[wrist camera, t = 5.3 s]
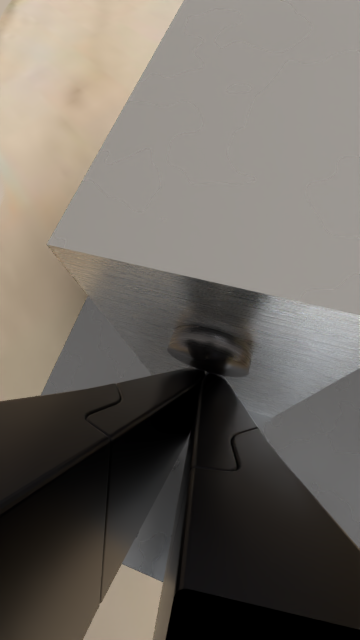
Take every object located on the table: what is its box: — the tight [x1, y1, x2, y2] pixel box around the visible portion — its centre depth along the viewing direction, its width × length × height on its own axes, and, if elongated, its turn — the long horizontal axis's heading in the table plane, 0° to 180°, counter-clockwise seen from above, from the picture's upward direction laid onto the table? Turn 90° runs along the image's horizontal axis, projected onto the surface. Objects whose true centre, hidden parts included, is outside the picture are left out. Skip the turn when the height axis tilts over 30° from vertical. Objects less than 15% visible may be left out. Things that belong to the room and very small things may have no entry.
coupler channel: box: [41, 296, 360, 582], centre depth 17 cm, size 30×18×4 cm, turn 162°
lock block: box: [47, 0, 360, 417], centre depth 13 cm, size 16×6×12 cm, turn 162°
